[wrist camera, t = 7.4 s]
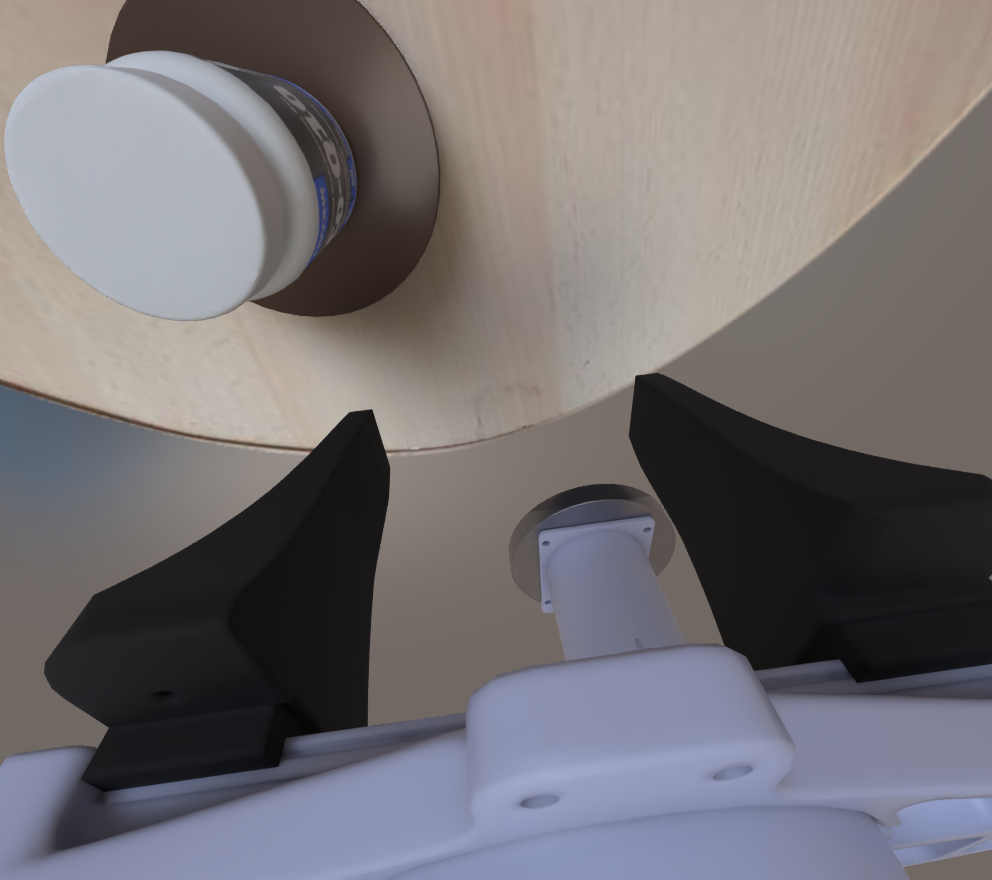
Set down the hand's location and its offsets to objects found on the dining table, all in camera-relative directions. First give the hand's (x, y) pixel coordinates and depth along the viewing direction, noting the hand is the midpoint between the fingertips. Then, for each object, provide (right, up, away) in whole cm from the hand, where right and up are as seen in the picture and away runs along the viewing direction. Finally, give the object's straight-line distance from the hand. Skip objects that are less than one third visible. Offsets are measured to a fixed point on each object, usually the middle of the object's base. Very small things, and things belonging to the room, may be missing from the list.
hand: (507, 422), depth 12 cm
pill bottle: (-7, +9, +2) cm, 11 cm away
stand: (-7, +10, +4) cm, 13 cm away
